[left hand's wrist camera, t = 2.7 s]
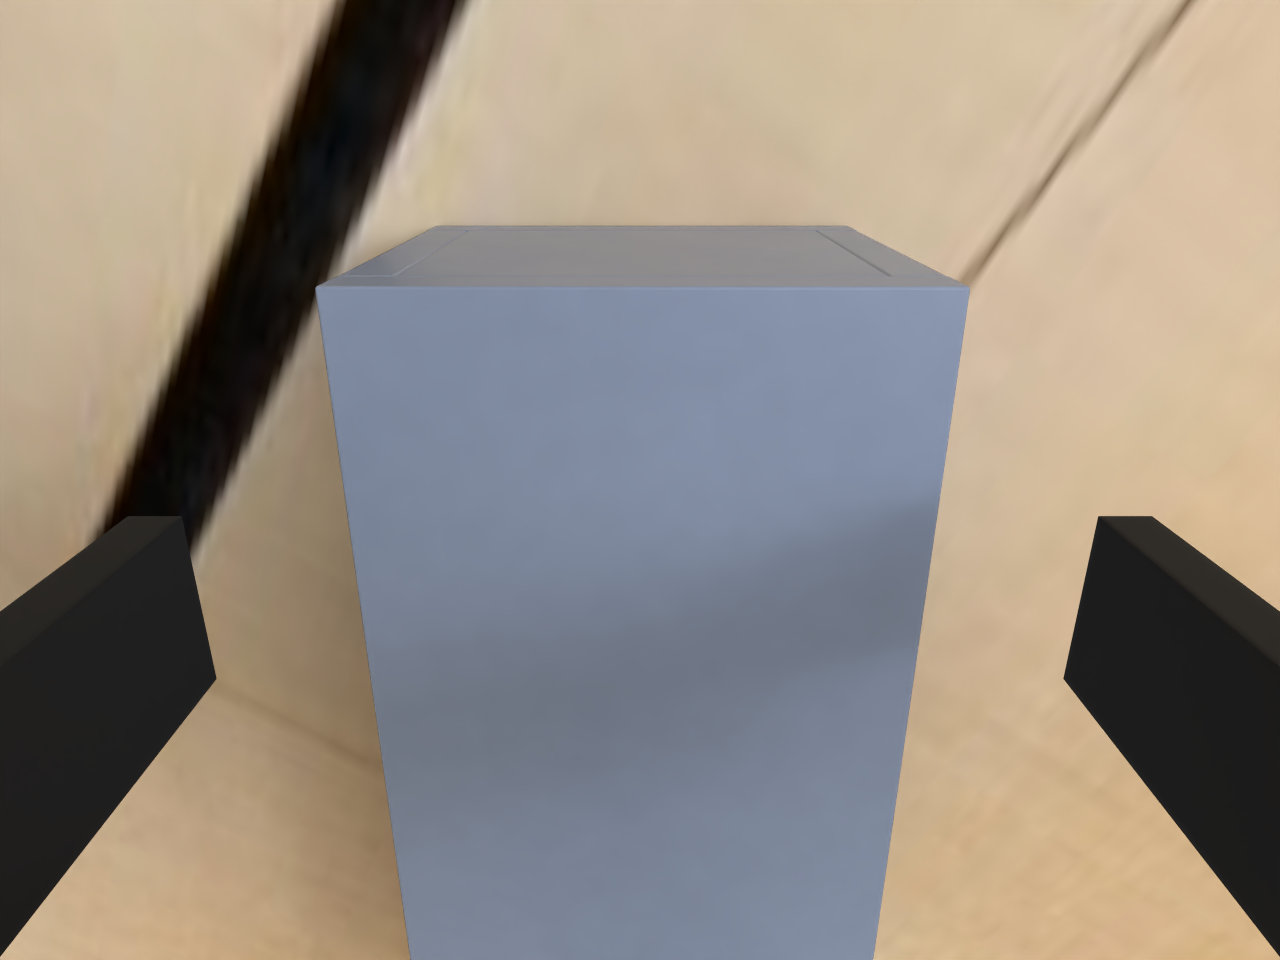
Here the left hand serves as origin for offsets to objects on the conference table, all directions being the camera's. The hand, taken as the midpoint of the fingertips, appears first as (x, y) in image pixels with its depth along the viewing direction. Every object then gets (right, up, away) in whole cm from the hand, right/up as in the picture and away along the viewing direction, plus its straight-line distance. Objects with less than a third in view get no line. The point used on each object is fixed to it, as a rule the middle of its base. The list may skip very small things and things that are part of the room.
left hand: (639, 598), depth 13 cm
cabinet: (0, -2, +12) cm, 12 cm away
